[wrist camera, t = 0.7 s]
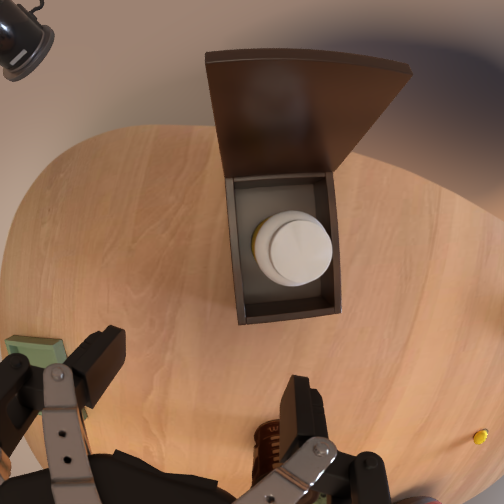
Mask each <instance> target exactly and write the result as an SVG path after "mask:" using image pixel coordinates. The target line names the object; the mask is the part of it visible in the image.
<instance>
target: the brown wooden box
mask: <svg viewBox="0 0 504 504" xmlns="http://www.w3.org/2000/svg"><path fill="white" fill-rule="evenodd" d="M225 188H226V200H227V212H228V224H229V235H230V246H231V257H232V268H233V279H234V289H235V299H236V309H237V318H238V325H246V324H247V325H248V324H258V323H268V322H278V321H286V320H295V319H303V318H310V317H318V316H325V315H332V314H339V313H342V305H341V270H340V250H339V234H338V221H337V209H336V199H335V189H334V180H333V172H301V173H280V174H264V175H250V176H237V177H226V178H225ZM284 211H301V212H304V213H307V214H309V215H311V216H313V217H314V218H315V219H317V220H318V221H319V222H320V223H321V225H322V226H323V227H324V229H325V231H326V232H327V234H328V236H329V238H330V240H331V244H332V258H331V262H330V264H329V266H328V268H327V270H326V271H325V272H324V273H323V274H322V275H321V276H320V277H319V278H317V279H315V280H313V281H311V282H309V283H306V284H304V285H300V286H284V285H281V284H278V283H276V282H274V281H272V280H271V279H269V278H268V277H267V276H266V275H265V274H264V273H263V272H262V270H261V269H260V267H259V265H258V264H257V262H256V261H255V259H254V257H253V254H252V250H251V238H252V235H253V232H254V230H255V229H256V227H257V226H258V225H259V224H260V223H261V222H262V221H263V220H265V219H266V218H268V217H271V216H273V215H275V214H278V213H281V212H284Z"/></svg>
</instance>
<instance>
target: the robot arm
mask: <svg viewBox="0 0 504 504" xmlns="http://www.w3.org/2000/svg"><path fill="white" fill-rule="evenodd" d="M43 6H44V0H40V6H38V7H35V8H33V9H32V10H31V11H29V12H28V11H27V10H26V9H25V8H24V7H23V6H22V5H21V4H17V5H16V4H15V3H14V2H13V1H12V0H0V65H1V66H2V67H4V68H5V69H6V70H7V71H9V72H11V73H13V72H17V71H19V70H20V69H22V68H23V67H24V66H26V65H27V64H28V63H29V62H30V61H31V60H32V59H33V58H34V56H35V55H36V54H37V52H38V51H39V50H40V48H41V46H42V44H43V42H44V39H45V32H44V31H43V26H42V25H41V24H39V22H38V21H37V18H36V17H35V15H34V14H33V13H34V12H35V11H37V10H40V9H42V7H43ZM125 357H126V334H125V330H124V329H121V328H118V327H115V326H113V325H109V326H108V327H107V328H106V329H105V330H104V331H103V332H100V331H97V332H95V333H93V334H90V335H89V336H88V337H87V338H86V339H85V340H84V342H82V343H81V344H80V345H79V347H77V349H76V350H75V351H74V352H73V353H72V354H71V355H70V356H69V357H68V358H67V359H66V360H65V361H64V362H63V363H62V364H61V363H54V364H51V365H49V366H47V367H46V368H41V367H37V366H33V365H30V362H29V359H28V358H27V356H25V355H24V354H21V353H12V354H10V355H8V356H7V357H6V358H5V359H4V360H3V361H2V362H1V363H0V504H296V503H297V502H298V501H299V500H300V498H301V497H302V496H303V495H304V494H305V493H306V492H307V491H308V490H309V489H311V490H314V491H317V492H321V493H324V494H326V498H327V504H392V503H391V497H390V492H389V486H388V481H387V475H386V470H385V465H384V462H383V460H382V458H381V457H380V456H379V455H377V454H376V453H373V452H368V451H366V452H362V453H360V454H358V455H357V456H352V455H349V454H345V453H342V452H340V451H338V450H337V448H336V446H335V444H334V443H333V442H332V441H330V440H329V438H328V432H327V425H326V419H325V414H324V413H325V412H324V407H323V400H322V397H321V395H320V394H319V392H318V391H317V389H311V388H310V385H309V378H308V377H303V376H297V375H292V376H291V378H290V380H289V382H288V385H287V387H286V389H285V391H284V394H283V396H282V399H281V403H280V441H279V463H283V464H282V465H281V466H280V467H279V468H278V467H277V468H275V469H274V470H273V471H271V472H270V473H269V474H268V475H267V476H266V477H264V478H263V479H262V480H261V481H260V482H258V483H257V484H256V485H255V486H253V487H252V488H251V489H250V490H248V491H247V492H246V493H245V494H243V495H242V496H241V497H239V498H238V499H236V498H235V497H234V496H233V495H231V494H230V493H228V492H227V491H225V490H223V489H221V488H219V487H217V484H218V481H216V480H211V479H207V478H203V477H198V476H194V475H186V474H173V473H164V472H161V471H160V470H158V469H156V468H154V467H153V466H151V465H149V464H148V463H146V462H144V461H143V460H141V459H139V458H137V457H134V456H132V455H129V454H126V453H124V452H121V451H119V450H117V449H116V450H115V452H114V454H113V455H112V454H92V451H91V448H90V444H89V441H88V437H87V432H86V428H85V424H84V419H83V414H82V409H83V408H84V406H87V407H89V408H91V409H93V408H94V406H95V405H96V403H97V402H98V400H99V399H100V397H101V396H102V395H103V393H104V392H105V390H106V389H107V387H108V386H109V384H110V383H111V381H112V380H113V379H114V377H115V376H116V374H117V373H118V371H119V370H120V368H121V367H122V366H123V364H124V361H125ZM40 411H42V422H43V432H44V440H45V447H46V454H47V460H48V466H49V468H47V469H43V470H40V471H36V472H32V473H29V474H24V475H20V476H16V477H12V478H9V476H10V475H11V472H10V471H11V462H10V459H9V457H10V456H11V454H12V452H13V451H14V449H15V448H16V446H17V445H18V443H19V442H20V440H21V439H22V437H23V436H24V434H25V433H26V431H27V430H28V428H29V427H30V425H31V424H32V422H33V421H34V419H35V418H36V416H37V415H38V413H39V412H40Z"/></svg>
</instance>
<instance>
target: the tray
mask: <svg viewBox="0 0 504 504" xmlns="http://www.w3.org/2000/svg"><path fill="white" fill-rule="evenodd" d="M5 344H6V347H7V350H8V354H9V355H10V354H12V353H21V354H24V355H25V356H27V358H28V359H29V362H30V365H33V366H37V367H41V368H46V367H47V366H49V365H51V364H54V363H61V364H62V363H63V362H64V361H65V360H66V359H67V356H66V353H65V349H64V346H63V342H62V339H48V338H36V337H25V336H16V335H13V336H11V337H9V338H7V339H5ZM82 414H83V419H84V420H85V419H86V418H87V414H86V411H85V409H84V408H83V409H82ZM38 415H42V411H40V412H39V413H38Z"/></svg>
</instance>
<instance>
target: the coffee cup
mask: <svg viewBox="0 0 504 504" xmlns="http://www.w3.org/2000/svg"><path fill="white" fill-rule="evenodd" d="M254 440H255V443H256V445H255V446H254V453H253V457H254V458H253V469H252V480H253V481H252V486H251V488H252V487H253V486H255V485H256V484H257V483H258V482H260V481H261V480H262V479H263V478H264V477H266V476H267V475H268V474H269V473H270V472H271V471H273V470H274V469H275V468H277V467H278V468H279V467H280V466H281V465H282V464H283V463H279V441H280V420H275V421H270V422H267V423H265V424H263V425H261V426H260V427H259V428H258V429H257V431H256V432H255V435H254ZM251 488H250V489H251ZM319 495H320V492H317V491H314V490H311V489H309V490H308V491H307V492H306V493H305V494H304V495H303V496H302V497H301V498H300V500H299V501H298V502H297V503H296V504H313V503H315V502H316V501H317V499H318V498H319Z"/></svg>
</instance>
